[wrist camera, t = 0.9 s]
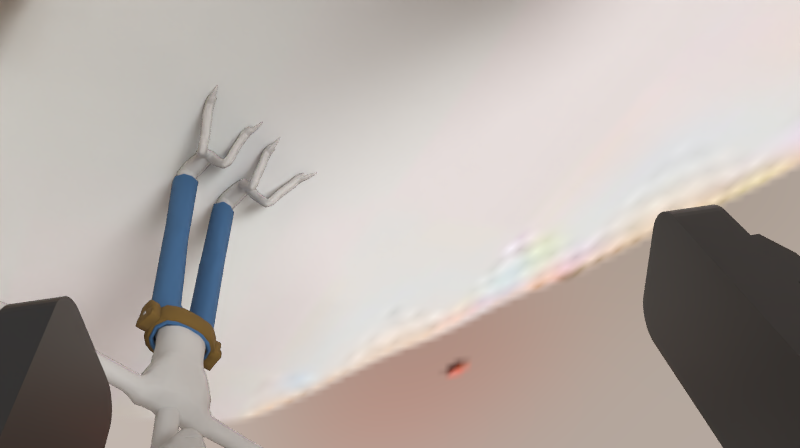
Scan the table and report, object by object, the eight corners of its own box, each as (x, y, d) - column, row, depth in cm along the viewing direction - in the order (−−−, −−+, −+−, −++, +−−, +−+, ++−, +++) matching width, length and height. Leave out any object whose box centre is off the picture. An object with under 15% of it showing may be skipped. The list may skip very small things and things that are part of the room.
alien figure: (409, 247, 38) (502, 598, 22) (336, 305, 39) (374, 675, 23) (87, -37, 28) (-169, 221, 12) (6, 54, 30) (-318, 391, 14)
